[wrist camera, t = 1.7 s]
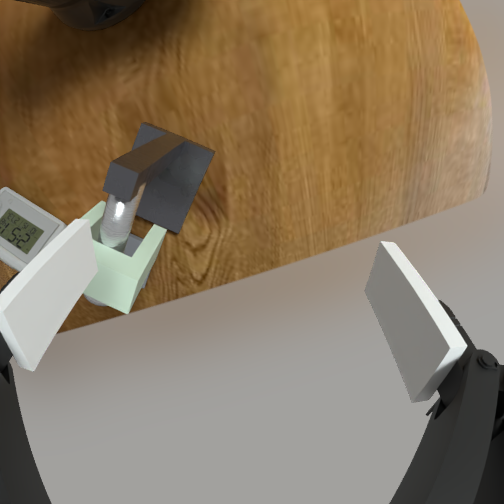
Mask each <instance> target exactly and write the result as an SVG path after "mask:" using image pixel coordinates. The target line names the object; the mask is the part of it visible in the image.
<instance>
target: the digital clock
mask: <svg viewBox="0 0 504 504" xmlns="http://www.w3.org/2000/svg"><path fill="white" fill-rule="evenodd" d="M66 227H67V225H66V224H65V223H63V222H62V221H60V220H59V219H57V218H56V217H54V216H53V215H51V214H49V213H48V212H46V211H45V210H43V209H41V208H40V207H38V206H36V205H35V204H33V203H32V202H30V201H29V200H27V199H25V198H24V197H22V196H21V195H19V194H17V193H16V192H14V191H13V190H11V189H9V188H7V187H4V188H2V189H1V190H0V260H1V261H3V262H4V263H5V264H7V265H8V266H10V267H11V268H12V269H16V270H17V271H19V272H20V271H21V270H23V269H24V268H25V267H26V266H27V265H28V264H29V263H30V262H31V261H32V260H33V259H34V258H35V257H36V256H37V255H38V254H39V253H40V252H41V251H42V250H43V249H44V248H45V247H46V246H47V245H48V244H49V243H50V242H51V241H52V240H53V239H54V238H55V237H56V236H58V235H59V234H60V233H61V232H62V231H63V230H64V229H65V228H66Z"/></svg>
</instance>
